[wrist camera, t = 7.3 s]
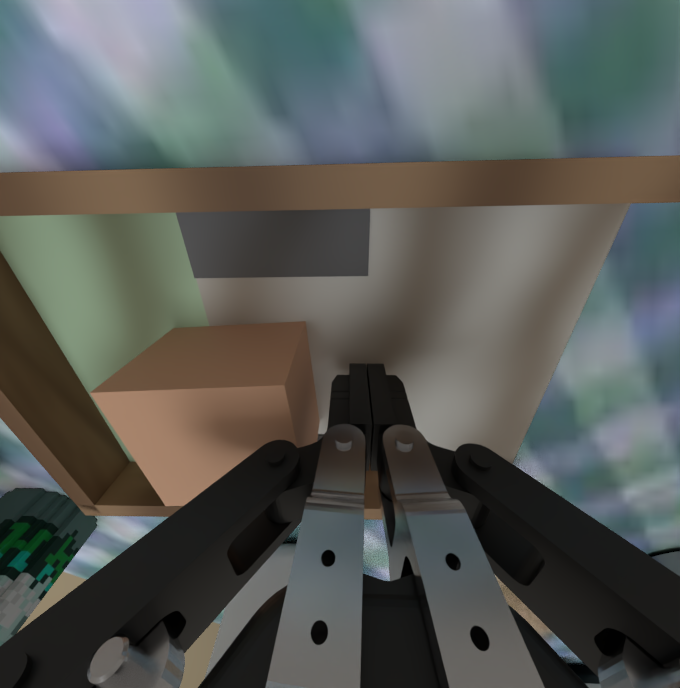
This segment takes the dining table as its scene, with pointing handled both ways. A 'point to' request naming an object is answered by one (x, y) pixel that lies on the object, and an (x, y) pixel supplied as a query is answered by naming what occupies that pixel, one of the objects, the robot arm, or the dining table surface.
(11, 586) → the can
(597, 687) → the spread jar
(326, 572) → the robot arm
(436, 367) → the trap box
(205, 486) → the block
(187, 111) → the dining table surface
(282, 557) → the cup
